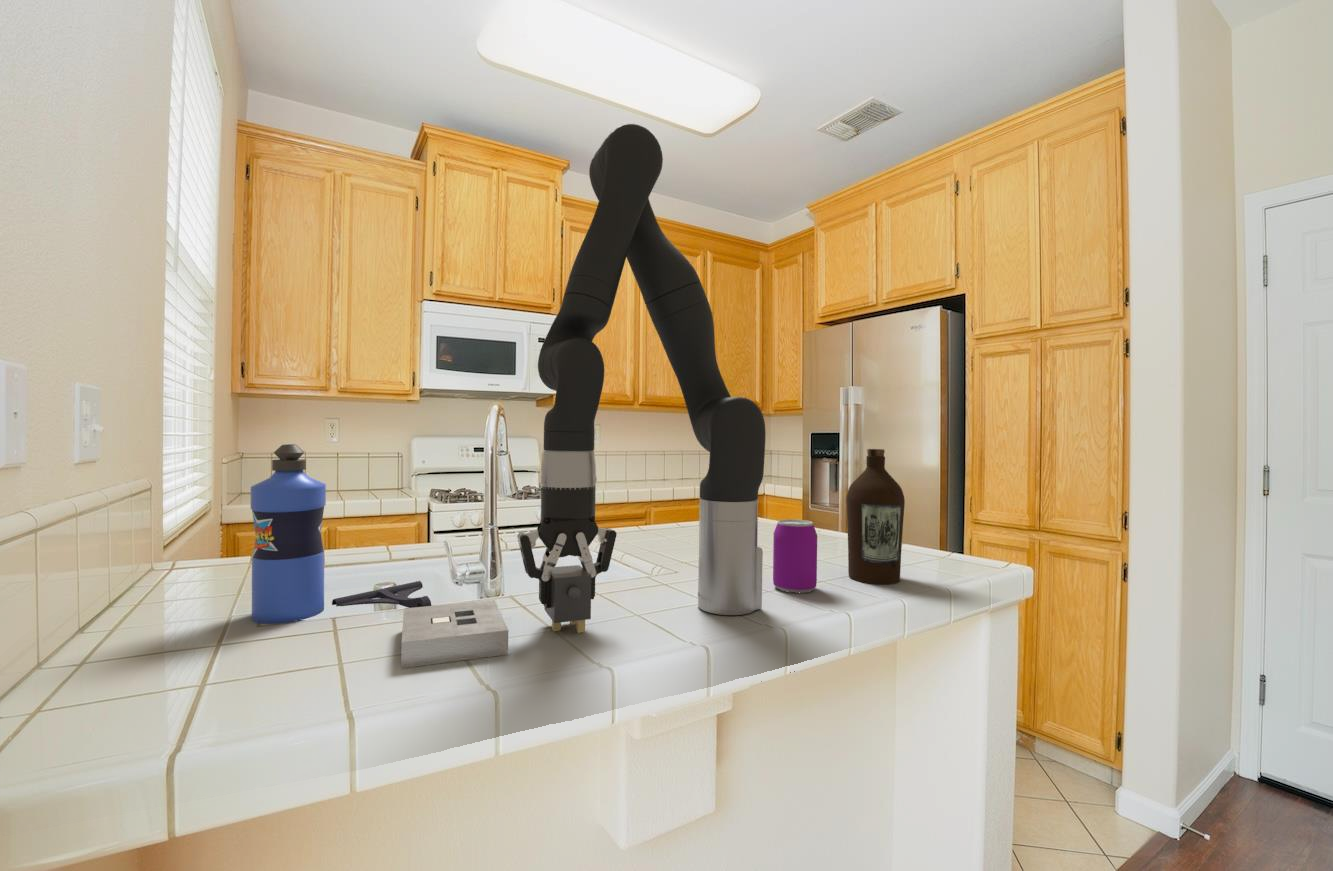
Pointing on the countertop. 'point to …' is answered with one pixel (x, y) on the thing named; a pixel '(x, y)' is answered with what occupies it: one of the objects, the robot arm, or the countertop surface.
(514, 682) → the countertop surface
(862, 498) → the olive oil
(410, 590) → the bracket
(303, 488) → the blue detergent bottle
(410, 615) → the socket plate
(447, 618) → the earth shutter
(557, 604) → the plug
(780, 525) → the beverage can
